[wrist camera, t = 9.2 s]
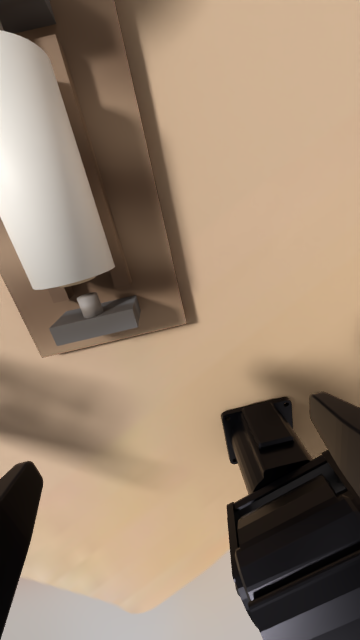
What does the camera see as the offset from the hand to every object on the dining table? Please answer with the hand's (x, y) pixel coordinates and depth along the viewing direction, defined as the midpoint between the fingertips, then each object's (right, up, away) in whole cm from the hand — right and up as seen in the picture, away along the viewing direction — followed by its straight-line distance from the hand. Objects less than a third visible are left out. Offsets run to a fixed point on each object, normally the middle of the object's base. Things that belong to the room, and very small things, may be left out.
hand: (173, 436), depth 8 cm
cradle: (-7, +12, +8) cm, 16 cm away
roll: (-7, +11, +6) cm, 14 cm away
